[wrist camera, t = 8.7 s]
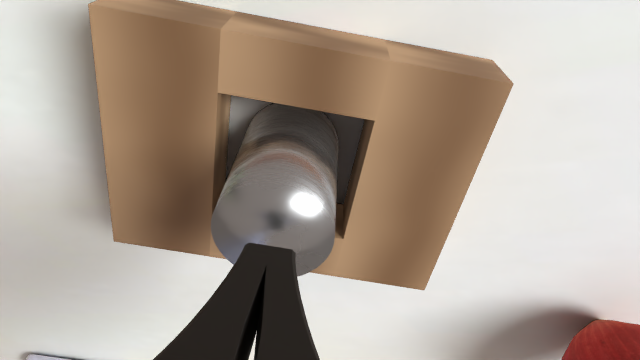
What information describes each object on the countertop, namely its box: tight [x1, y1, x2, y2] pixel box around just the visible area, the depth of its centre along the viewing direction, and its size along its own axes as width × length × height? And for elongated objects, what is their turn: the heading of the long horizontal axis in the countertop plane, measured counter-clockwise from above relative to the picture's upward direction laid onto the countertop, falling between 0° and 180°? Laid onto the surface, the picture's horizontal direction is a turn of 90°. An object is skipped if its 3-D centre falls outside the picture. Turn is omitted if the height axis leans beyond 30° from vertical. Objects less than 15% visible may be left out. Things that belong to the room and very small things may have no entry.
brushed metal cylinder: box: [211, 103, 338, 276], centre depth 17 cm, size 4×4×6 cm
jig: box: [88, 0, 513, 290], centre depth 18 cm, size 14×10×2 cm
